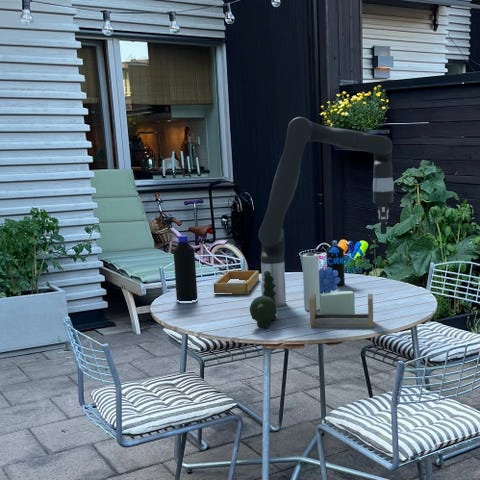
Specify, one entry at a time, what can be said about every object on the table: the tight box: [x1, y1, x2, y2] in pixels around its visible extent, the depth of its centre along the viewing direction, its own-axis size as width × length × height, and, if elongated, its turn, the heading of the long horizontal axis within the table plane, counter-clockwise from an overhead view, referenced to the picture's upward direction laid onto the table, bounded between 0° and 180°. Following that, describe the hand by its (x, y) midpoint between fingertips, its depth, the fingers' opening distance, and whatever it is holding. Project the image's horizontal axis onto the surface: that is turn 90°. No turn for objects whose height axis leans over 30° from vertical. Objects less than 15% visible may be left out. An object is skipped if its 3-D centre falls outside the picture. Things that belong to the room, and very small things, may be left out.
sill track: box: [309, 293, 374, 329], centre depth 215 cm, size 21×8×10 cm, turn 79°
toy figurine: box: [249, 271, 278, 329], centre depth 222 cm, size 9×19×25 cm
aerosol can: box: [325, 240, 346, 288], centre depth 278 cm, size 8×8×20 cm
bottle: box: [173, 234, 198, 301], centre depth 261 cm, size 9×9×28 cm
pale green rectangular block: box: [319, 290, 356, 314], centre depth 225 cm, size 12×4×9 cm, turn 99°
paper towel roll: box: [302, 252, 320, 312], centre depth 238 cm, size 7×6×21 cm
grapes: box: [319, 266, 340, 294], centre depth 261 cm, size 12×7×12 cm, turn 78°
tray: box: [213, 270, 260, 295], centre depth 285 cm, size 31×15×6 cm, turn 169°
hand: (383, 232), depth 237 cm, fingers open, 8 cm apart
